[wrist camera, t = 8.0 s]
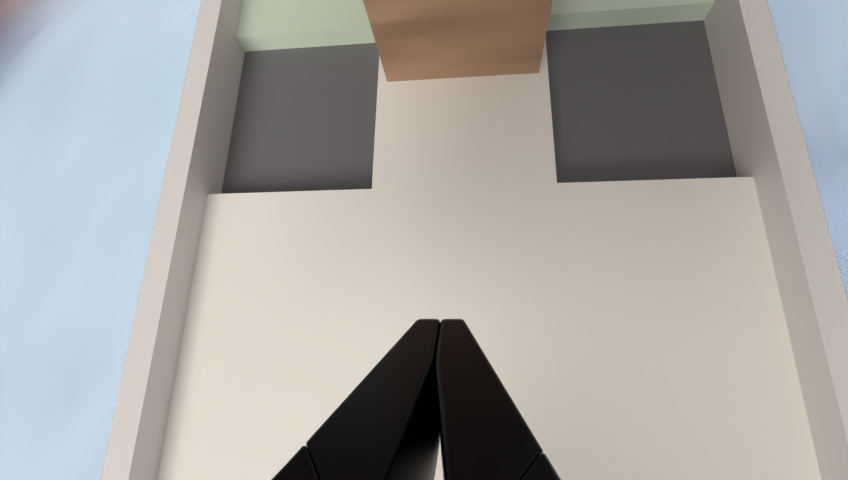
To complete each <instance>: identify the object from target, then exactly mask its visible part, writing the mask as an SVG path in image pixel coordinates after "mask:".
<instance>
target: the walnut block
mask: <svg viewBox="0 0 848 480" xmlns="http://www.w3.org/2000/svg"><path fill="white" fill-rule="evenodd" d="M363 2H364V5H365V9H366V12H367V15H368V19H369V22H370V25H371V29H372V32H373V36H374V39H375V42H376V46H377V49H378V52H379V56H380V59H381V62H382V66H383V69H384V72H385V76H386V79H387V82H392V81H409V80H427V79H444V78H461V77H478V76H496V75H513V74H530V73H539V70H540V64H541V59H542V54H543V48H544V43H545V37H546V32H547V27H548V21H549V16H550V11H551V5H552V0H363Z"/></svg>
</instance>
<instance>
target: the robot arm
mask: <svg viewBox="0 0 848 480" xmlns="http://www.w3.org/2000/svg"><path fill="white" fill-rule="evenodd" d="M439 444H441V457H442V469H443V480H561V479H560V477H559V476H558V474H557V472H556V471H555V469H554V467H553V466H552V464H551V462H550V461H549V459H548V457H547V456H546V455H545V454H544V453H543V450H542V448H541V446H540V445H539V443H538V441H537V440H536V438H535V436H534V435H533V433H532V432H531V430H530V428H529V427H528V425H527V423H526V422H525V420H524V418H523V417H522V415H521V413H520V412H519V410H518V408H517V407H516V405H515V403H514V402H513V400H512V398H511V397H510V395H509V393H508V392H507V390H506V389H505V387H504V385H503V384H502V382H501V380H500V379H499V377H498V375H497V374H496V372H495V370H494V369H493V367H492V365H491V364H490V362H489V360H488V359H487V357H486V355H485V354H484V352H483V351H482V349H481V347H480V346H479V344H478V342H477V341H476V339H475V337H474V336H473V334H472V332H471V331H470V329H469V327H468V326H467V324H466V322H465V321H464V320H463V319H443V320H441V322H440V321H439V320H438V319H418V320H416V321H415V323H414V324H413V325H412V326H411V327H410V328H409V329H408V330H407V331H406V332H405V334H404V335H403V336H402V337H401V338H400V339H399V340H398V341H397V342H396V344H395V345H394V346H393V347H392V348H391V349H390V350H389V351H388V352H387V353H386V355H385V356H384V357H383V358H382V359H381V360H380V361H379V362H378V363H377V365H376V366H375V367H374V368H373V369H372V370H371V371H370V372H369V373H368V374H367V376H366V377H365V378H364V379H363V380H362V381H361V382H360V383H359V384H358V386H357V387H356V388H355V389H354V390H353V391H352V392H351V393H350V394H349V395H348V397H347V398H346V399H345V400H344V401H343V402H342V403H341V404H340V405H339V406H338V408H337V409H336V410H335V411H334V412H333V413H332V414H331V415H330V416H329V418H328V419H327V420H326V421H325V422H324V423H323V424H322V425H321V426H320V427H319V429H318V430H317V431H316V432H315V433H314V434H313V435H312V436H311V437H310V439H309V440H308V441H307V442H306V446H302V447H301V448H300V449H299V450H298V451H297V453H296V454H295V455H294V456H293V457H292V458H291V459H290V460H289V461H288V463H287V464H286V465H285V466H284V467H283V468H282V469H281V470H280V471H279V472H278V473H277V474H276V475H275V476H274V477H273V478H272V479H271V480H434V477H435V471H436V465H437V459H438V452H439Z"/></svg>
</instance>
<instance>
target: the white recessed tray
mask: <svg viewBox="0 0 848 480" xmlns="http://www.w3.org/2000/svg"><path fill="white" fill-rule="evenodd" d="M418 319H438V320H439V321H440V322H441V320H443V319H463V320H464V321H465V322H466V324H467V326H468V327H469V329H470V331H471V332H472V334H473V336H474V337H475V339H476V341H477V342H478V344H479V346H480V347H481V349H482V351H483V352H484V354H485V355H486V357H487V359H488V360H489V362H490V364H491V365H492V367H493V369H494V370H495V372H496V374H497V375H498V377H499V379H500V380H501V382H502V384H503V385H504V387H505V389H506V390H507V392H508V393H509V395H510V397H511V398H512V400H513V402H514V403H515V405H516V407H517V408H518V410H519V412H520V413H521V415H522V417H523V418H524V420H525V422H526V423H527V425H528V427H529V428H530V430H531V432H532V433H533V435H534V436H535V438H536V440H537V441H538V443H539V445H540V446H541V448H542V450H543V453H544V454H545V455H546V456H547V457H548V459H549V461H550V462H551V464H552V466H553V467H554V469H555V471H556V472H557V474H558V476H559V477H560V479H561V480H848V300H847V296H846V293H845V289H844V285H843V281H842V278H841V274H840V270H839V267H838V263H837V259H836V255H835V252H834V248H833V244H832V241H831V237H830V233H829V230H828V226H827V222H826V218H825V215H824V211H823V207H822V204H821V200H820V196H819V192H818V189H817V185H816V181H815V178H814V174H813V170H812V167H811V163H810V159H809V155H808V152H807V148H806V144H805V141H804V137H803V133H802V129H801V126H800V122H799V118H798V115H797V111H796V107H795V104H794V100H793V96H792V92H791V89H790V85H789V81H788V78H787V74H786V70H785V66H784V63H783V59H782V55H781V52H780V48H779V44H778V41H777V37H776V33H775V29H774V26H773V22H772V18H771V15H770V11H769V7H768V3H767V0H552V5H551V11H550V16H549V21H548V27H547V32H546V37H545V43H544V48H543V54H542V59H541V64H540V70H539V73H530V74H513V75H496V76H478V77H461V78H444V79H427V80H409V81H392V82H387V79H386V76H385V72H384V69H383V66H382V62H381V59H380V56H379V52H378V49H377V46H376V42H375V39H374V36H373V32H372V29H371V25H370V22H369V19H368V15H367V12H366V9H365V5H364V2H363V0H202V1H201V6H200V10H199V15H198V20H197V25H196V29H195V34H194V39H193V44H192V48H191V53H190V58H189V62H188V67H187V72H186V77H185V81H184V86H183V91H182V96H181V100H180V105H179V110H178V115H177V119H176V124H175V129H174V133H173V138H172V143H171V148H170V152H169V157H168V162H167V167H166V171H165V176H164V181H163V185H162V190H161V195H160V200H159V204H158V209H157V214H156V219H155V223H154V228H153V233H152V237H151V242H150V247H149V252H148V256H147V261H146V266H145V271H144V275H143V280H142V285H141V290H140V294H139V299H138V304H137V308H136V313H135V318H134V323H133V327H132V332H131V337H130V342H129V346H128V351H127V356H126V360H125V365H124V370H123V375H122V379H121V384H120V389H119V394H118V398H117V403H116V408H115V412H114V417H113V422H112V427H111V431H110V436H109V441H108V446H107V450H106V455H105V460H104V465H103V469H102V474H101V479H100V480H271V479H272V478H273V477H274V476H275V475H276V474H277V473H278V472H279V471H280V470H281V469H282V468H283V467H284V466H285V465H286V464H287V463H288V461H289V460H290V459H291V458H292V457H293V456H294V455H295V454H296V453H297V451H298V450H299V449H300V448H301V447H302V446H306V442H307V441H308V440H309V439H310V437H311V436H312V435H313V434H314V433H315V432H316V431H317V430H318V429H319V427H320V426H321V425H322V424H323V423H324V422H325V421H326V420H327V419H328V418H329V416H330V415H331V414H332V413H333V412H334V411H335V410H336V409H337V408H338V406H339V405H340V404H341V403H342V402H343V401H344V400H345V399H346V398H347V397H348V395H349V394H350V393H351V392H352V391H353V390H354V389H355V388H356V387H357V386H358V384H359V383H360V382H361V381H362V380H363V379H364V378H365V377H366V376H367V374H368V373H369V372H370V371H371V370H372V369H373V368H374V367H375V366H376V365H377V363H378V362H379V361H380V360H381V359H382V358H383V357H384V356H385V355H386V353H387V352H388V351H389V350H390V349H391V348H392V347H393V346H394V345H395V344H396V342H397V341H398V340H399V339H400V338H401V337H402V336H403V335H404V334H405V332H406V331H407V330H408V329H409V328H410V327H411V326H412V325H413V324H414V323H415V321H416V320H418ZM434 480H443V469H442V457H441V444H439V452H438V459H437V465H436V471H435V477H434Z"/></svg>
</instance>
